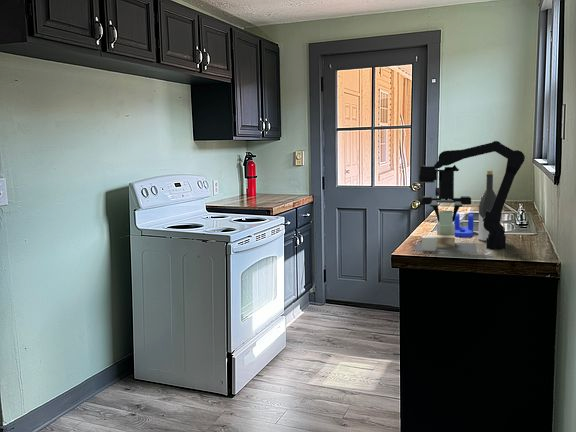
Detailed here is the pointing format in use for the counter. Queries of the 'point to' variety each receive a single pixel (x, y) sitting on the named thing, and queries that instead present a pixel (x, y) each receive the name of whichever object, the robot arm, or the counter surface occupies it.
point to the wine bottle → (486, 206)
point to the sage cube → (445, 217)
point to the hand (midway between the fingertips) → (445, 221)
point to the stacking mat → (458, 246)
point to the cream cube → (429, 243)
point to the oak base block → (445, 241)
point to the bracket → (464, 230)
